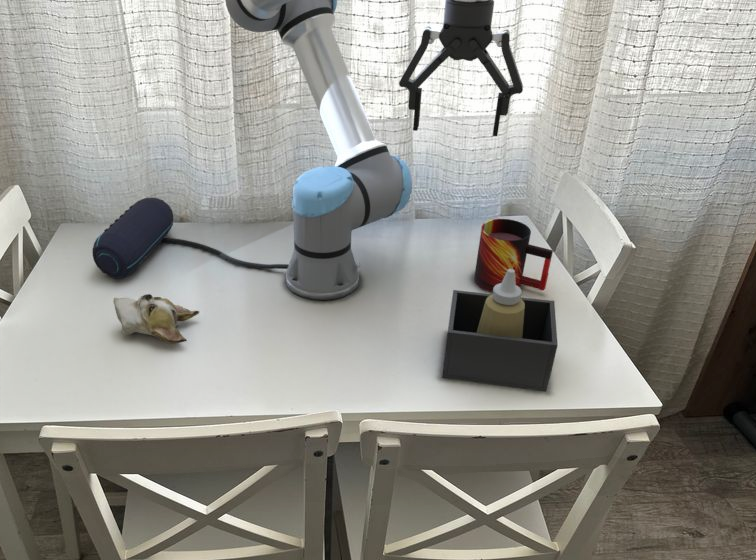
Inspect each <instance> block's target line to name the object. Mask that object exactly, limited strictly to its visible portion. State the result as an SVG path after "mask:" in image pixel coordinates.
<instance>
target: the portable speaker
mask: <svg viewBox="0 0 756 560" xmlns="http://www.w3.org/2000/svg"><path fill="white" fill-rule="evenodd" d="M173 212H174V211H173V210H172V208H171V206H170V205H169V204H168V203H167V202H165V200H163V199H160V198H159V197H144V198H142V199H139V200H137V201H136V202H135V203H133V204H131V205H130V206H129V208H128V209H126V210H125V211H124V212H123V213H122V214H120V215H119V217H118V218H116V219H115V220H114V222H113V223H110V224H109V227H108V228H105V229H104V230H103V232H102V233H101V234H100V235H99V236H98V237H96V239H95V241H94V242H93V246H92V258H93V262H94V263H95V265H96V267H97V268H98V269H99V270H100V271H101V272H102V273H103V274H105V275H106V276H108V277H109V278H113V279H123V278H125V277H127V276H129V275H130V274H132V273H134V271H135V270H136V269H137V268H138V267H139V266H140V265H141V263H143V262H144V261H145V259H146V258H147V257H148V256H149V255H150V254H151V253H152V252H153V251H154V250H155V249H156V247H157V246H158V245H159V244H160V243H162V242H161V241H162V240H163V239H164V238H167V236H168V234H169V233H170V231H171V230H172V227H173V226H174V213H173Z"/></svg>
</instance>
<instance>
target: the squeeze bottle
mask: <svg viewBox="0 0 756 560" xmlns="http://www.w3.org/2000/svg"><path fill="white" fill-rule="evenodd" d="M491 294H492V295H490V296H488V298H487V299H486V301H485V305H484V308H483V312H482V315H481V319H480V322H479V326H478V329H477V333H481V334H489V335H497V336H506V337H514V338H522V335H523V322H524V310H525V303H524V302H523V300H522V299H521V297H522V294H523V293H522V289H521V286H520V287H518V286H517V285H516V283H515V270H513V269H508V270H507V272H506V275H505V277H504V279H503V281H502V283H499V284H497V285H495V286H494V288H493V292H492V293H491Z"/></svg>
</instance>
